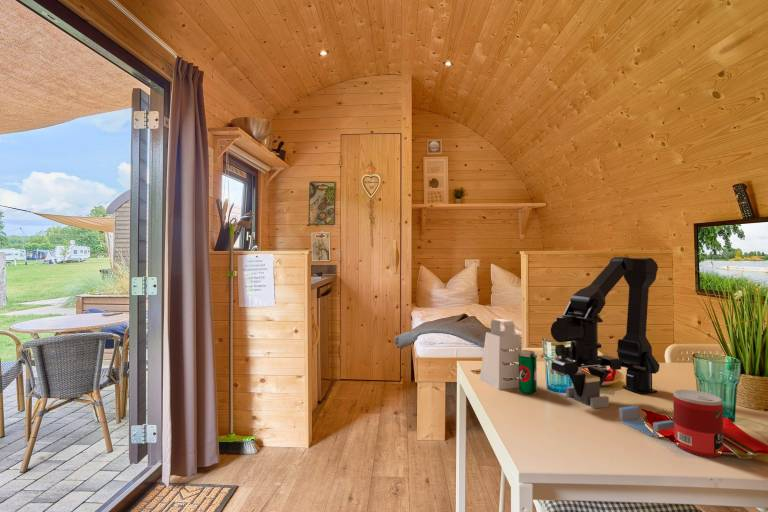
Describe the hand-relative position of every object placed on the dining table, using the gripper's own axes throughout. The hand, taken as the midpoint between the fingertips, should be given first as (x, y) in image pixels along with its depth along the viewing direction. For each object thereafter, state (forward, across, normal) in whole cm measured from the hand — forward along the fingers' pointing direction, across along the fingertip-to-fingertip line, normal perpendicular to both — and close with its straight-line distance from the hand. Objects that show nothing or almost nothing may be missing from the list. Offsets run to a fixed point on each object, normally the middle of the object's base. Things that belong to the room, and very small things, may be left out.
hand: (586, 395), depth 109 cm
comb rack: (+2, 0, +9) cm, 9 cm away
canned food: (+2, -1, +29) cm, 29 cm away
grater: (+2, +13, -21) cm, 25 cm away
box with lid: (+2, 0, 0) cm, 2 cm away
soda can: (+2, +11, -11) cm, 16 cm away
